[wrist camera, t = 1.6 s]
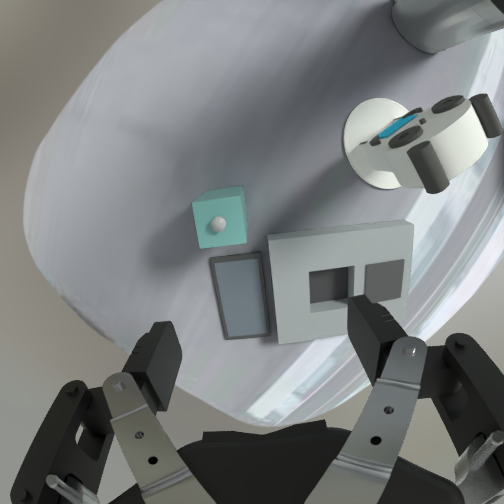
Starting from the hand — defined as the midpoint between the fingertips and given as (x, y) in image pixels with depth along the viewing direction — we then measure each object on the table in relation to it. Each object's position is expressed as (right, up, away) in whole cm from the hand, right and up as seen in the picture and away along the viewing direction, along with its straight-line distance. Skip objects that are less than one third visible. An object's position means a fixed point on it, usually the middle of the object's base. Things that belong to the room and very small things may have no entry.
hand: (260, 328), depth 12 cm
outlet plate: (+11, 0, +22) cm, 25 cm away
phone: (-2, -2, +24) cm, 24 cm away
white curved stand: (+16, +17, +17) cm, 29 cm away
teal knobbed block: (-3, +9, +19) cm, 21 cm away
